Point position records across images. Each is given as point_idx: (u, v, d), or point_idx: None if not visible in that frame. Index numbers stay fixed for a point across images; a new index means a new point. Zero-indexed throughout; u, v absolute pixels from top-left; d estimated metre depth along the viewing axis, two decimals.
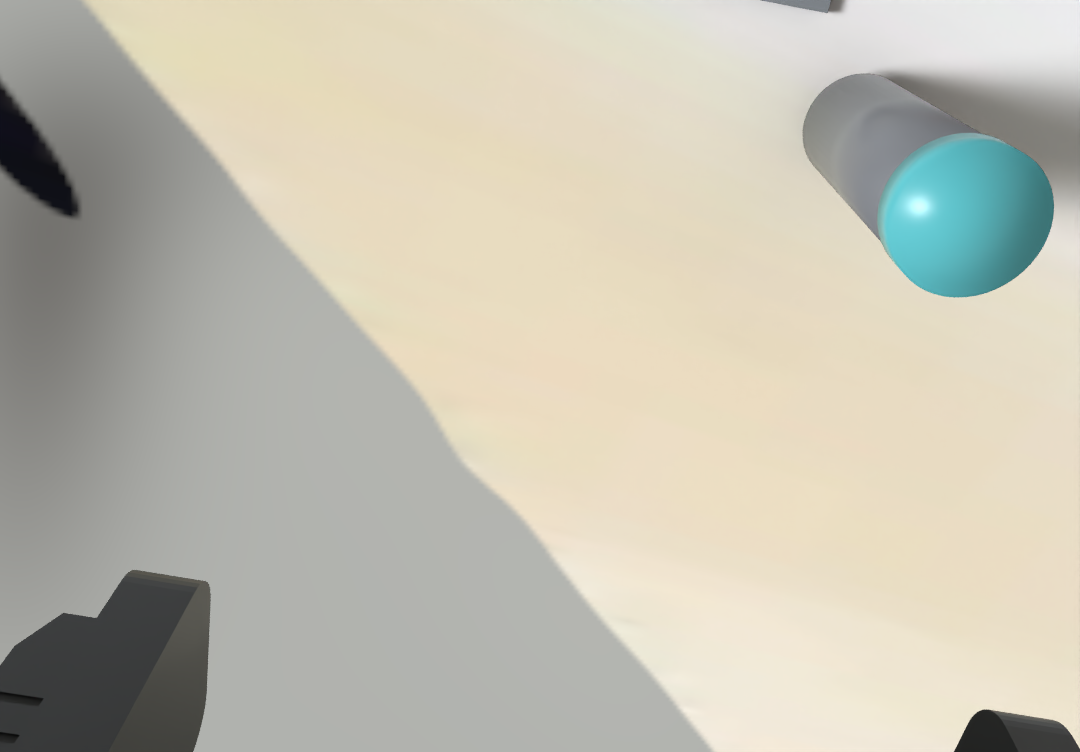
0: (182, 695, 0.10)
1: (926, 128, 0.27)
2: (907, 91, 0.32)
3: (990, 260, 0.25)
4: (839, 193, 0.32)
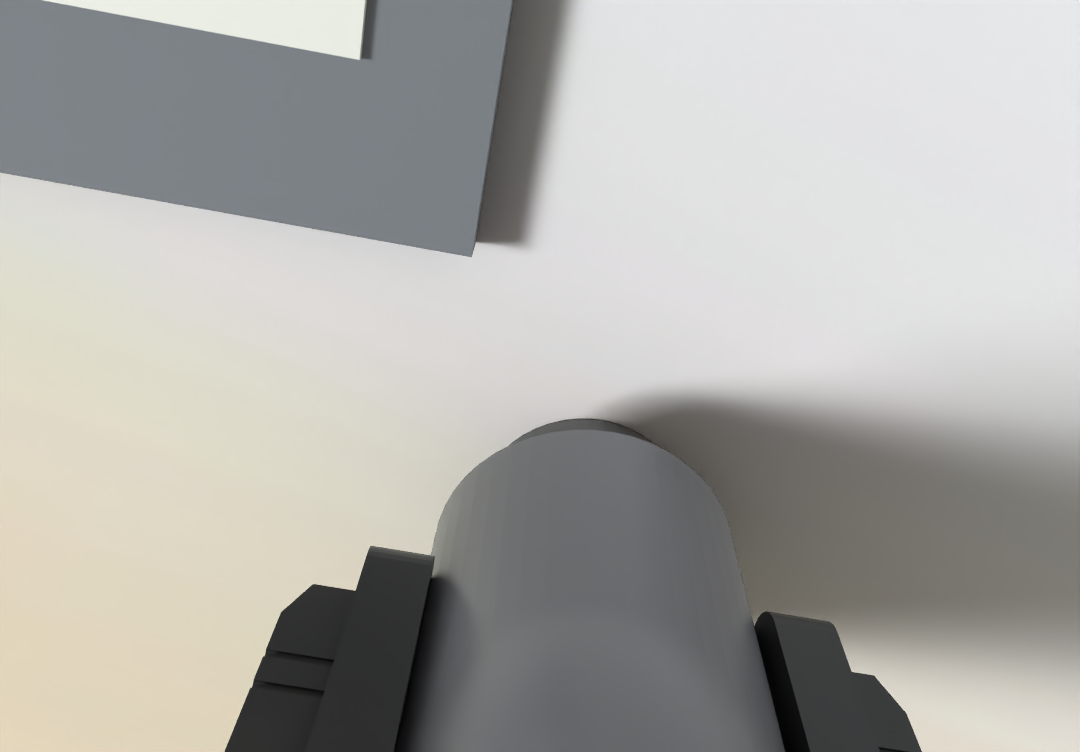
0: None
1: None
2: (653, 591, 0.09)
3: None
4: None
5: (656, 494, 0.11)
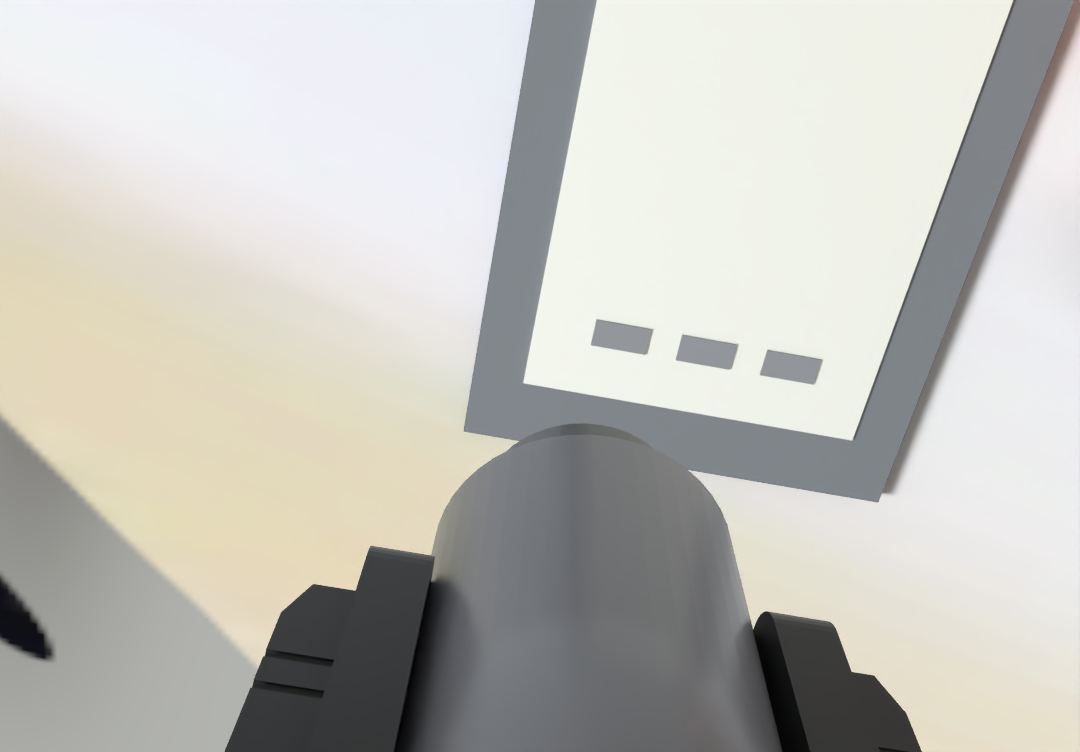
0: None
1: None
2: (652, 597, 0.09)
3: None
4: None
5: (655, 499, 0.11)
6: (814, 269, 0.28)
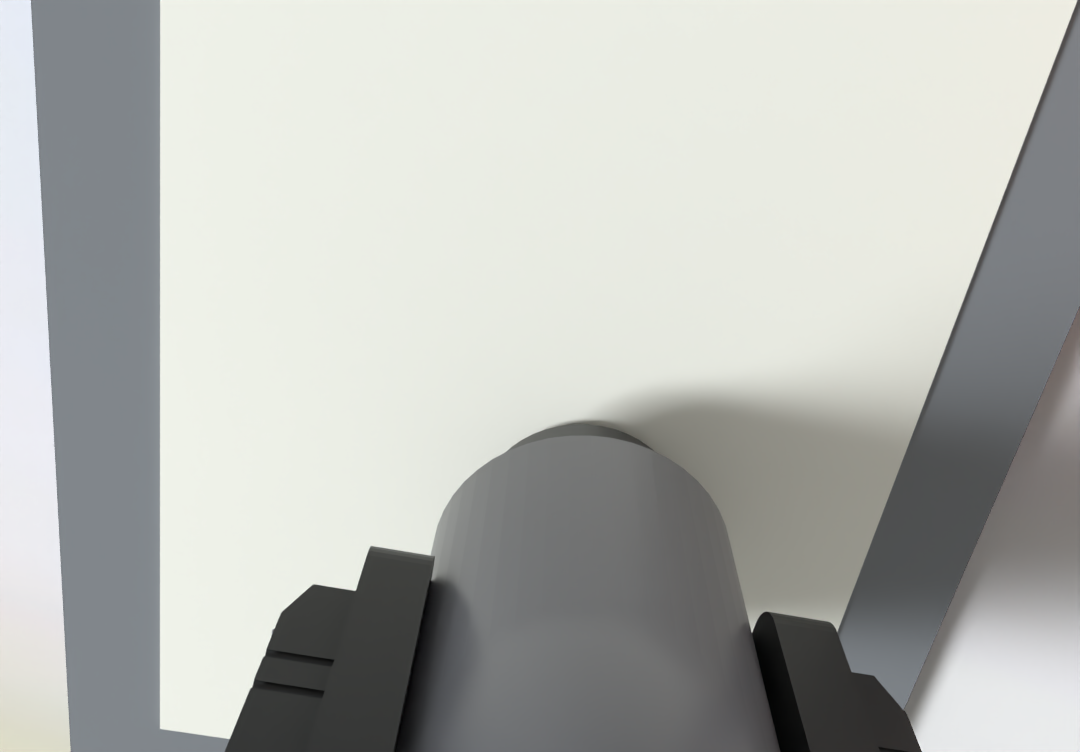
0: None
1: None
2: (650, 598, 0.09)
3: None
4: None
5: (653, 500, 0.11)
6: None
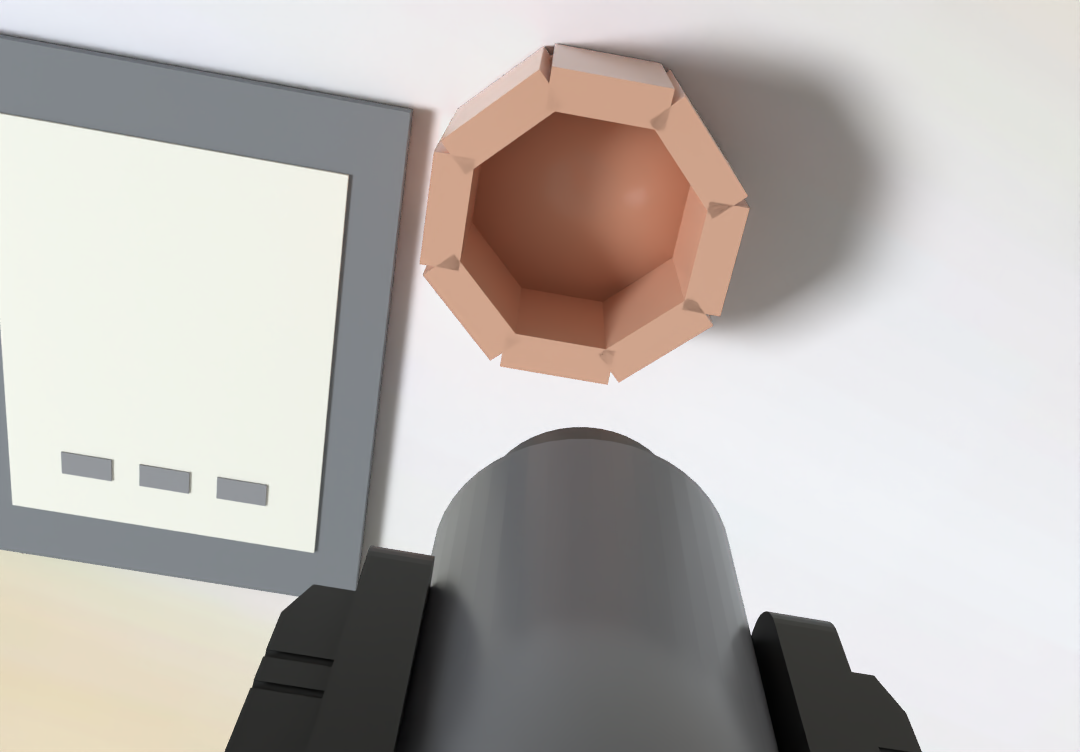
0: None
1: None
2: (650, 602, 0.09)
3: None
4: None
5: (653, 503, 0.11)
6: (239, 410, 0.31)
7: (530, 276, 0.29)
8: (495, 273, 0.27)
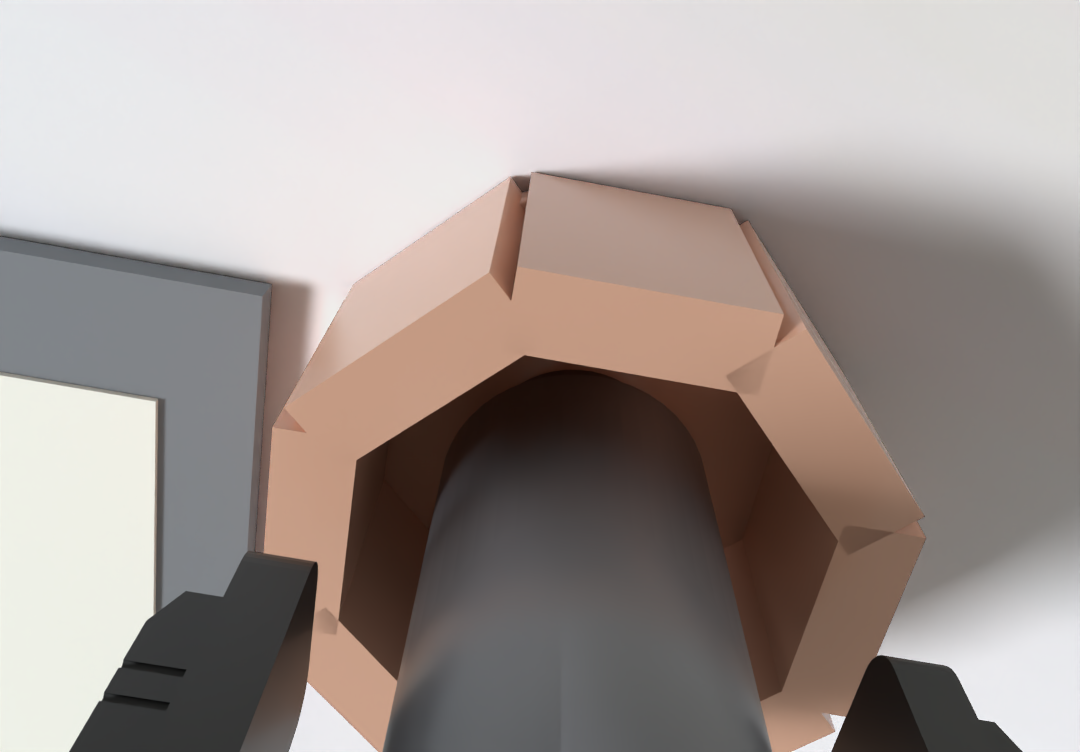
0: (296, 669, 0.10)
1: None
2: (632, 498, 0.11)
3: None
4: None
5: (636, 426, 0.13)
6: None
7: None
8: None
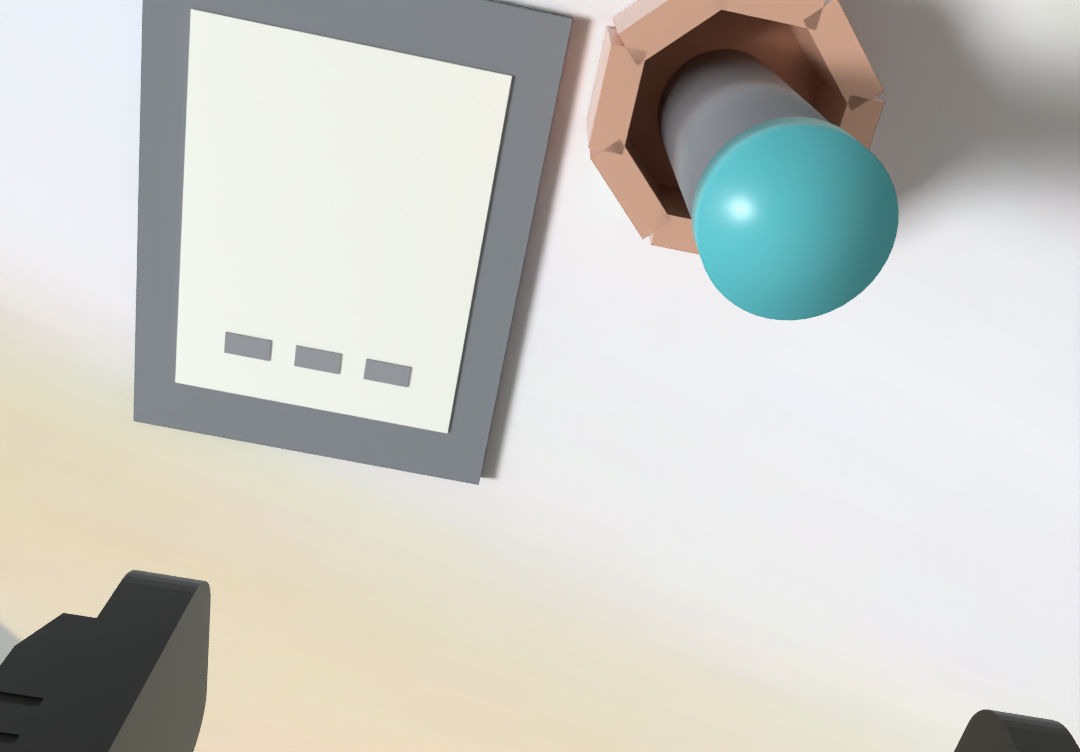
0: (182, 695, 0.10)
1: (756, 110, 0.22)
2: (764, 69, 0.27)
3: (823, 275, 0.21)
4: None
5: (758, 61, 0.28)
6: (392, 295, 0.34)
7: (667, 174, 0.32)
8: (643, 165, 0.31)
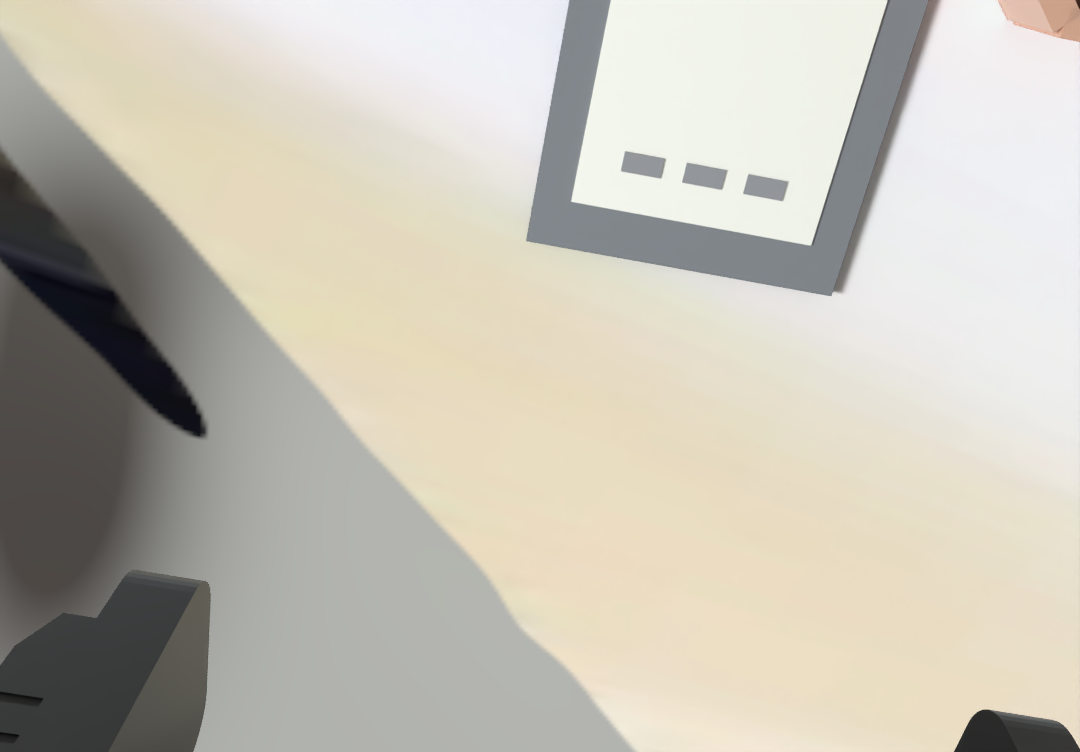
0: (181, 695, 0.10)
1: None
2: None
3: None
4: None
5: None
6: (781, 112, 0.39)
7: None
8: None
